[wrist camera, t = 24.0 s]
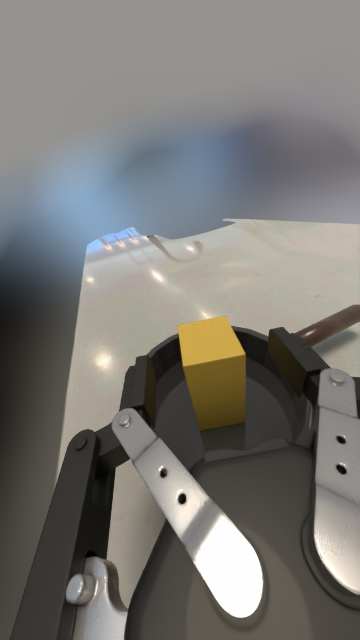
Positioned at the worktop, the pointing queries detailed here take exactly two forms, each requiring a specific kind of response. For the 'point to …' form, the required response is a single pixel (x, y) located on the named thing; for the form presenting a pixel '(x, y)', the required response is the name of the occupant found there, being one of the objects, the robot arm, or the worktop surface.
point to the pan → (260, 403)
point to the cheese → (214, 372)
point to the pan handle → (330, 325)
